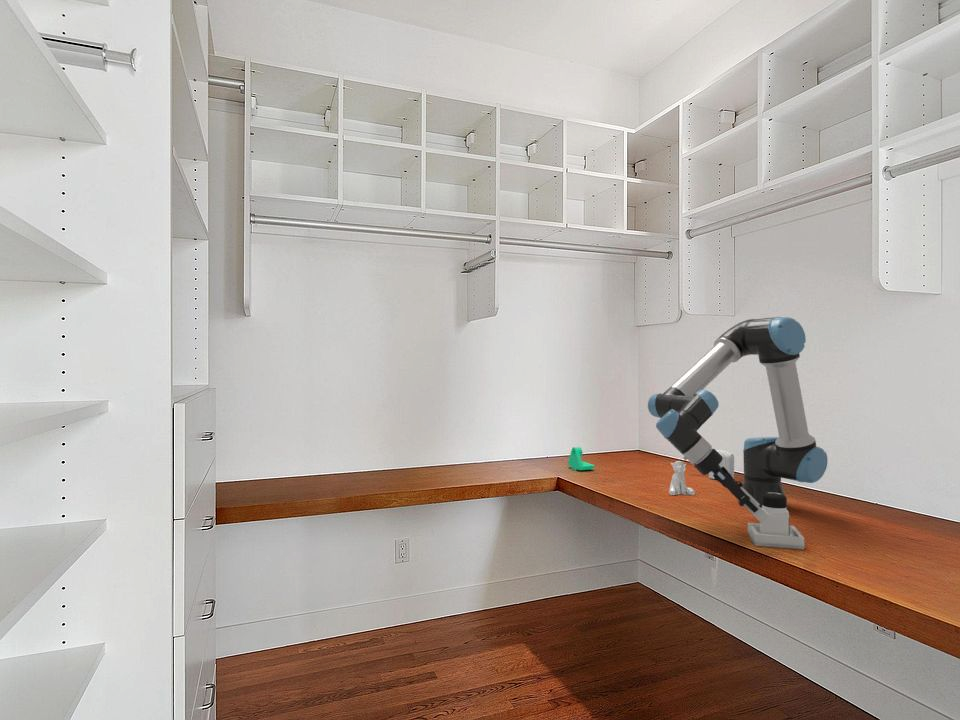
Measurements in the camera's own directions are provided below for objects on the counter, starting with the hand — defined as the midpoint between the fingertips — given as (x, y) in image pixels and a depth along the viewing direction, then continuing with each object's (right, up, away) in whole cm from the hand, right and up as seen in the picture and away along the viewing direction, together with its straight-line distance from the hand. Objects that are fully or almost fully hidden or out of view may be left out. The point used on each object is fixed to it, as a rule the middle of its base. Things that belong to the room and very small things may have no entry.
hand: (760, 513), depth 164 cm
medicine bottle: (+3, -7, -1) cm, 8 cm away
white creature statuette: (-3, -8, +58) cm, 58 cm away
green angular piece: (-31, -8, +106) cm, 111 cm away
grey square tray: (+4, -7, -1) cm, 8 cm away
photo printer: (+22, -7, +81) cm, 85 cm away
